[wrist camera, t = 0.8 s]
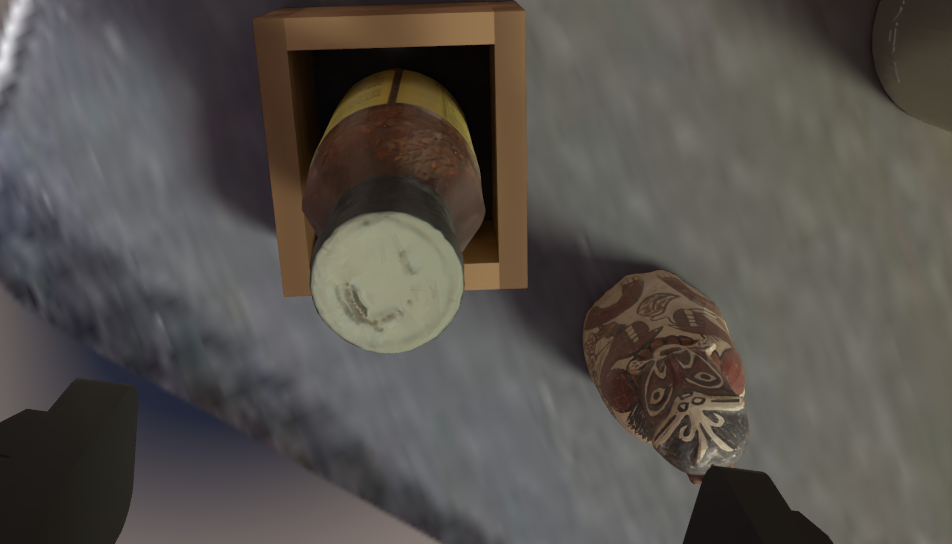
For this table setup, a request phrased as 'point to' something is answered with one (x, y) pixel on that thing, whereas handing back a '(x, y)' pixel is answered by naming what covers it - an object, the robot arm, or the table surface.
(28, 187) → the table surface
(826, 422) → the table surface
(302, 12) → the square holder
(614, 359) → the figurine
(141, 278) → the table surface
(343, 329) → the sauce bottle
